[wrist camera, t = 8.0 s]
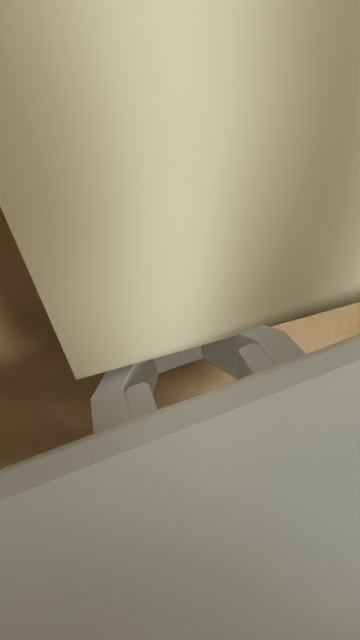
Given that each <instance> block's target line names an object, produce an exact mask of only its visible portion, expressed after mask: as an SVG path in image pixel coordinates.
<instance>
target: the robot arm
mask: <svg viewBox="0 0 360 640" xmlns="http://www.w3.org/2000/svg"><path fill="white" fill-rule="evenodd" d="M202 358H204V359H205V360H206V361H208V362H210V363H211V364H213V365H215V366H216V367H218V368H220V369H221V370H223V371H225V372H226V373H228V374H230V375H231V376H233V377H235V378H236V379H238V380H236V381H233V382H231V383H228V384H225V385H222V386H220V387H217V388H214V389H212V390H209V391H206V392H204V393H201V394H198V395H196V396H193V397H190V398H188V399H185V400H182V401H180V402H177V403H174V404H172V405H169V406H166V407H164V408H161V409H158V410H157V407H156V404H155V401H154V398H153V394H154V390H155V386H156V383H157V379H158V376H159V375H158V374H160V373H162V372H165V371H167V370H170V369H173V368H175V367H178V366H181V365H184V364H187V363H190V362H193V361H196V360H199V359H202ZM91 410H92V421H93V432H94V434H91V435H89V436H86V437H83V438H81V439H78V440H75V441H73V442H70V443H67V444H65V445H62V446H59V447H57V448H54V449H51V450H49V451H46V452H43V453H41V454H38V455H35V456H33V457H30V458H27V459H24V460H22V461H19V462H16V463H14V464H11V465H8V466H6V467H3V468H0V640H360V334H359V335H356V336H354V337H351V338H348V339H346V340H343V341H340V342H338V343H335V344H332V345H330V346H327V347H324V348H322V349H319V350H316V351H314V352H311V353H308V354H306V353H305V352H304V351H303V350H302V349H301V348H300V347H299V346H298V345H297V344H296V343H295V342H294V341H293V340H292V339H291V338H290V337H289V336H288V335H287V334H286V333H285V332H284V331H281V330H278V329H275V328H272V327H269V326H266V325H261V326H258V327H255V328H252V329H249V330H246V331H243V332H240V333H238V336H234V337H230V338H227V339H223V340H219V341H216V342H212V343H208V344H205V345H201V346H197V347H194V348H190V349H187V350H183V351H179V352H176V353H172V354H168V355H165V356H161V357H157V358H154V359H150V360H147V361H143V362H139V363H136V364H132V365H128V366H125V367H121V368H117V369H114V370H110V371H106V372H105V374H104V376H103V378H102V380H101V381H100V383H99V385H98V387H97V389H96V390H95V392H94V394H93V396H92V398H91Z"/></svg>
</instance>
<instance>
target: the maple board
mask: <svg viewBox="0 0 360 640" xmlns="http://www.w3.org/2000/svg"><path fill="white" fill-rule="evenodd" d="M0 207H1V209H2V212H3V214H4V216H5V218H6V221H7V223H8V225H9V228H10V230H11V232H12V234H13V237H14V239H15V241H16V244H17V246H18V248H19V250H20V253H21V255H22V257H23V260H24V262H25V264H26V266H27V269H28V271H29V273H30V275H31V278H32V280H33V282H34V285H35V287H36V289H37V291H38V294H39V296H40V298H41V301H42V303H43V305H44V307H45V310H46V312H47V314H48V317H49V319H50V321H51V323H52V326H53V328H54V330H55V333H56V335H57V337H58V339H59V342H60V344H61V346H62V349H63V351H64V353H65V355H66V358H67V360H68V362H69V365H70V367H71V369H72V371H73V374H74V376H75V378H76V380H77V379H81V378H85V377H88V376H92V375H96V374H99V373H103V372H106V371H110V370H114V369H117V368H121V367H125V366H128V365H132V364H136V363H139V362H143V361H147V360H150V359H154V358H157V357H161V356H165V355H168V354H172V353H176V352H179V351H183V350H187V349H190V348H194V347H197V346H201V345H205V344H208V343H212V342H216V341H219V340H223V339H227V338H230V337H234V336H238V333H240V332H243V331H246V330H249V329H252V328H255V327H258V326H261V325H266V326H269V327H270V326H274V325H278V324H281V323H285V322H288V321H292V320H296V319H299V318H303V317H307V316H310V315H314V314H318V313H321V312H325V311H329V310H332V309H336V308H339V307H343V306H347V305H350V304H354V303H358V302H360V0H0Z"/></svg>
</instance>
